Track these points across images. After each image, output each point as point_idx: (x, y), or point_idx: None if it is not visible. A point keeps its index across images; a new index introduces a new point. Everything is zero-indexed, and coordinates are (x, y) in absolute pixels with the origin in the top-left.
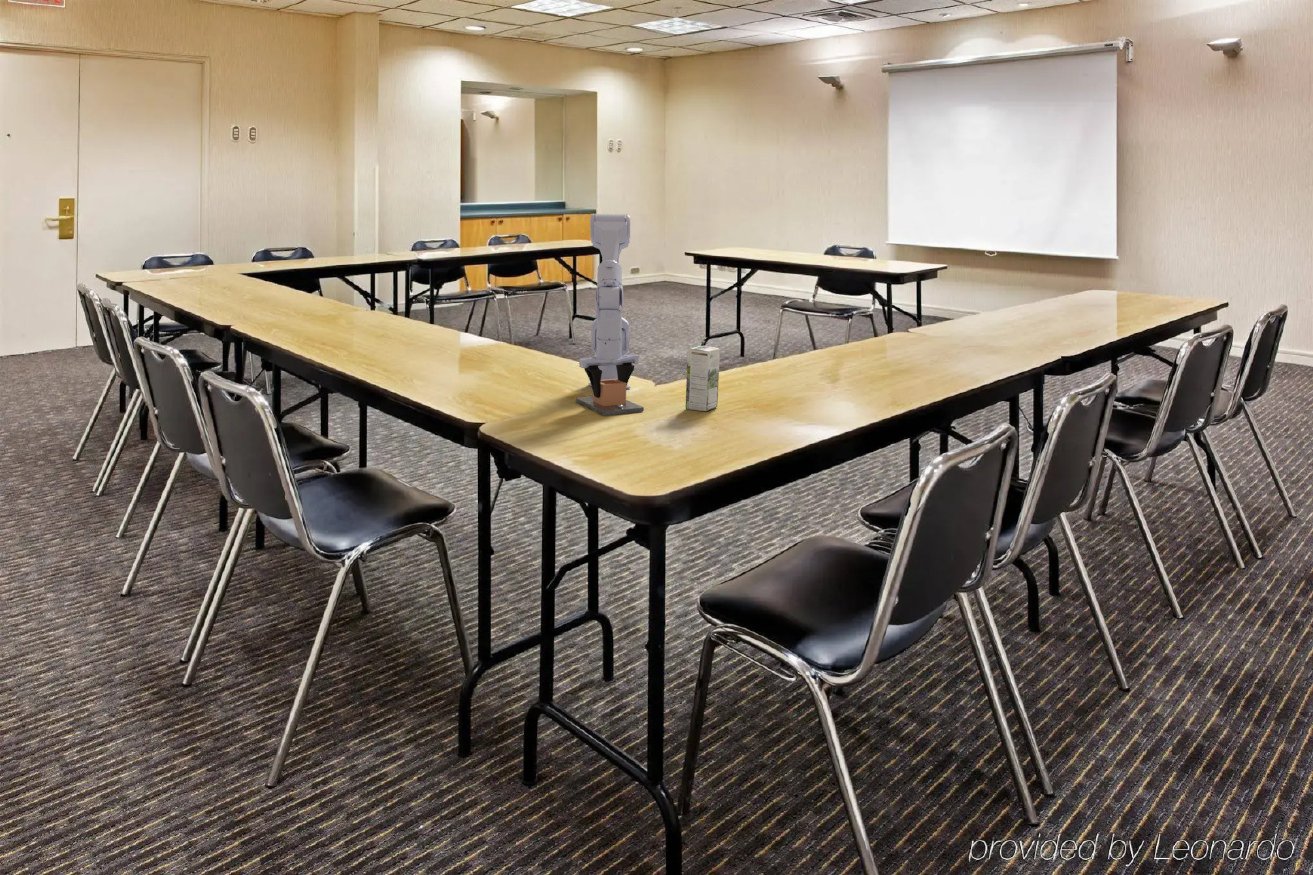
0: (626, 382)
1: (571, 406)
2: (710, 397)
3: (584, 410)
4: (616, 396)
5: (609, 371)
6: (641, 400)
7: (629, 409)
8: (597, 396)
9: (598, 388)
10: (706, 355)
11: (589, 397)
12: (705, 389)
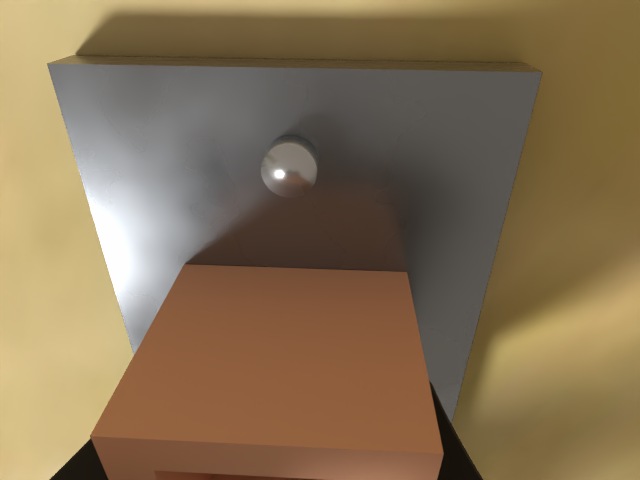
0: (73, 472)
1: (521, 424)
2: None
3: (528, 314)
4: (268, 319)
5: None
6: (20, 378)
7: (226, 63)
8: (433, 390)
9: (451, 455)
10: None
11: None
12: None
